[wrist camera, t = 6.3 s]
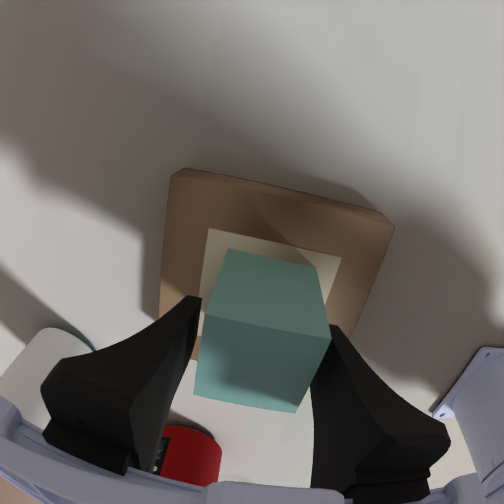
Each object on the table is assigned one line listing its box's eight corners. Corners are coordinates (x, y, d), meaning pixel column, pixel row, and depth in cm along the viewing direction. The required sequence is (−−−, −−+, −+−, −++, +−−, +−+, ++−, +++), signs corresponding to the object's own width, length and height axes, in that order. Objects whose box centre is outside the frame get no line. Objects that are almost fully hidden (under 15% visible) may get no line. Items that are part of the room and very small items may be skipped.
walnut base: (381, 213, 15) (395, 227, 13) (323, 361, 19) (326, 385, 17) (184, 167, 15) (170, 175, 13) (167, 329, 19) (157, 351, 17)
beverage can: (145, 411, 23) (101, 531, 12) (225, 426, 23) (201, 558, 12) (155, 448, 26) (124, 547, 15) (222, 461, 25) (204, 567, 14)
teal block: (316, 267, 14) (331, 338, 9) (292, 335, 16) (295, 413, 11) (228, 248, 14) (204, 313, 9) (215, 319, 16) (193, 394, 11)
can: (123, 362, 20) (54, 498, 10) (98, 399, 23) (45, 506, 12) (48, 306, 19) (-49, 418, 8) (35, 353, 22) (-33, 447, 11)
